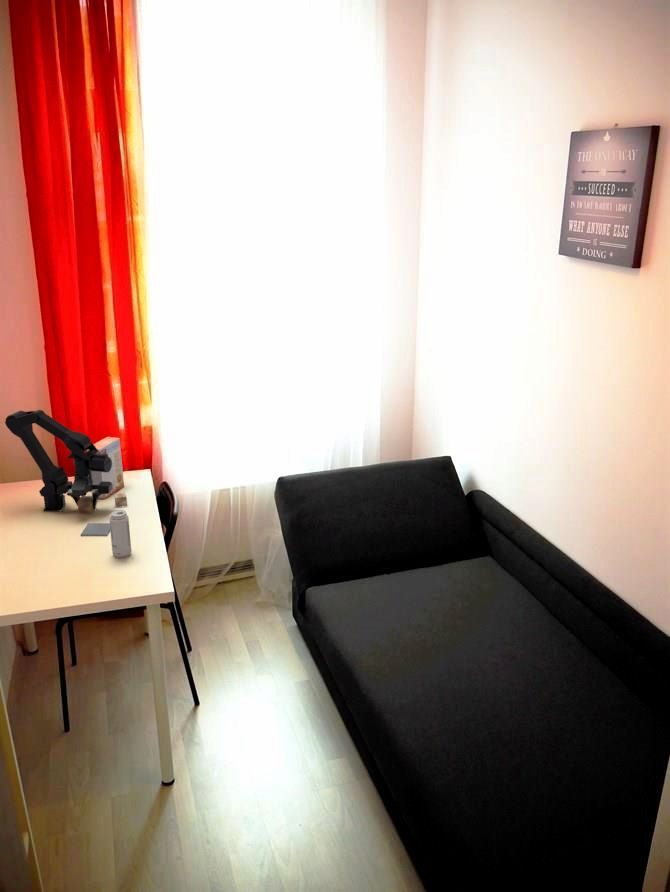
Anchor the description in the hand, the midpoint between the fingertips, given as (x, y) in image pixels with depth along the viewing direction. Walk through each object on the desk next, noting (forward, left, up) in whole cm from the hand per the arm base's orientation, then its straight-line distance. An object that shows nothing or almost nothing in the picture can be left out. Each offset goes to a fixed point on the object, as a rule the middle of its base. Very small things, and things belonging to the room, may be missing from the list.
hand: (87, 508), depth 278 cm
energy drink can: (+21, -34, -1) cm, 40 cm away
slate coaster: (+8, -16, -1) cm, 18 cm away
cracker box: (+3, +18, -1) cm, 18 cm away
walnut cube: (0, 0, -1) cm, 1 cm away
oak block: (+11, +6, -1) cm, 13 cm away
